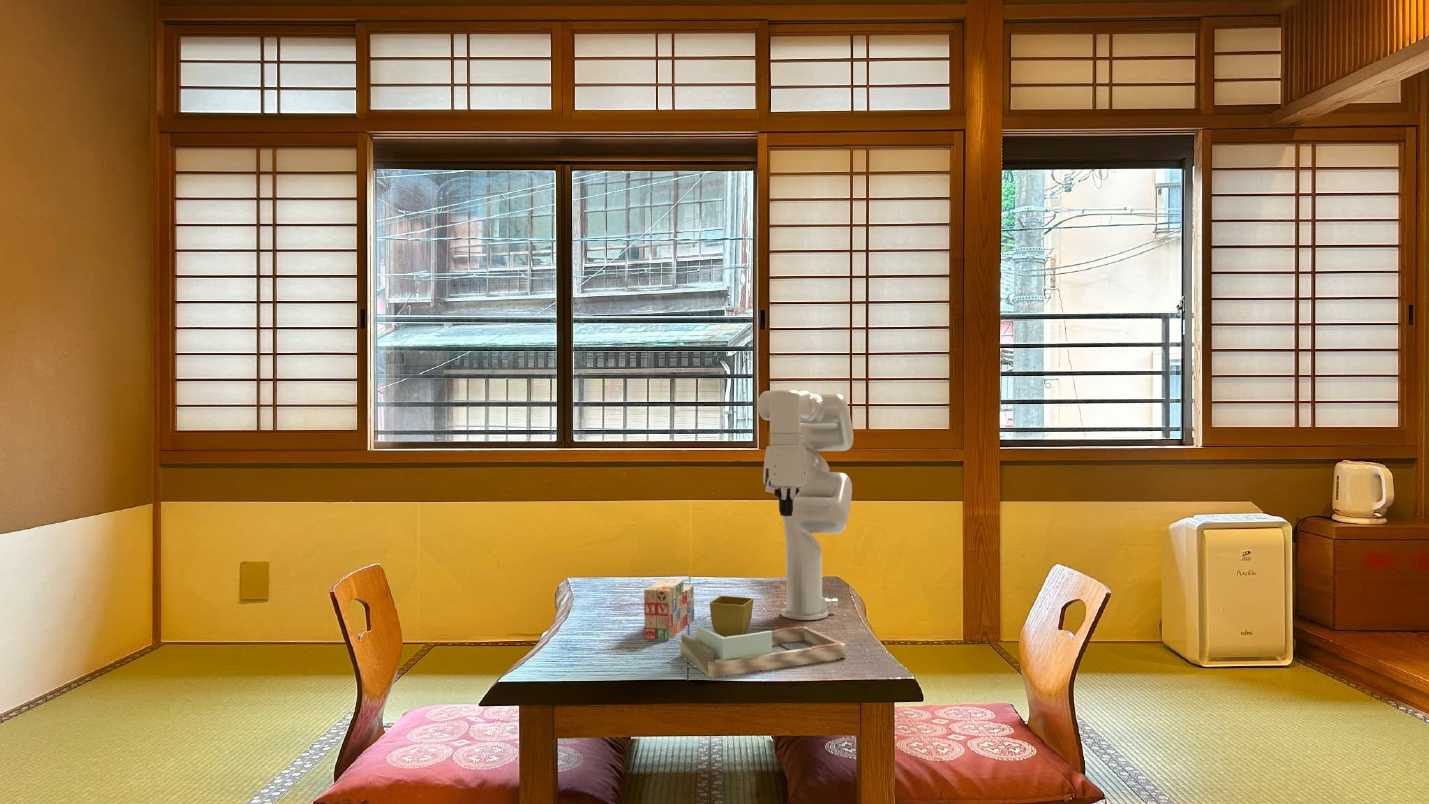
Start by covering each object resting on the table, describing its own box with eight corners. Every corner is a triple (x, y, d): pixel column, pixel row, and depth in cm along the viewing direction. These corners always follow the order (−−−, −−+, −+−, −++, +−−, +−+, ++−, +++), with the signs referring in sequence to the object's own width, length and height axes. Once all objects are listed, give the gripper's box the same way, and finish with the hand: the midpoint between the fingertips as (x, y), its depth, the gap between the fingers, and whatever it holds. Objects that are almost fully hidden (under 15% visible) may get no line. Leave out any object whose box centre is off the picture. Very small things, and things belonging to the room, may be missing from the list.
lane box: (806, 639, 198) (805, 618, 198) (846, 658, 182) (845, 635, 182) (679, 655, 185) (679, 633, 185) (710, 678, 169) (710, 653, 169)
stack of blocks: (672, 619, 220) (671, 572, 220) (694, 620, 218) (694, 573, 218) (644, 640, 199) (643, 588, 199) (668, 641, 197) (668, 589, 198)
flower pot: (754, 634, 203) (754, 597, 203) (744, 643, 195) (743, 605, 195) (720, 631, 206) (720, 595, 206) (708, 640, 197) (708, 602, 198)
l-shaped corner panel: (772, 667, 176) (772, 631, 176) (723, 676, 170) (722, 639, 170) (743, 653, 186) (743, 619, 187) (696, 661, 181) (696, 626, 181)
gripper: (804, 439, 209) (805, 512, 209) (751, 440, 203) (751, 515, 203) (819, 440, 202) (820, 515, 202) (765, 441, 196) (765, 519, 196)
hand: (786, 515), depth 202 cm, fingers closed
